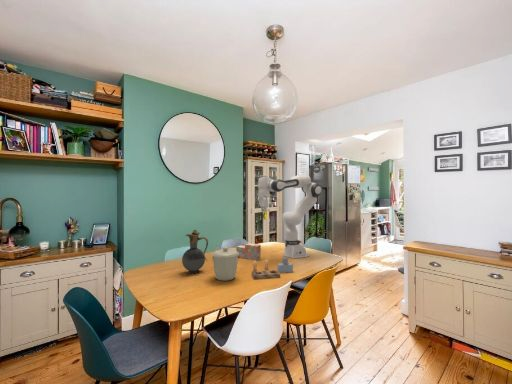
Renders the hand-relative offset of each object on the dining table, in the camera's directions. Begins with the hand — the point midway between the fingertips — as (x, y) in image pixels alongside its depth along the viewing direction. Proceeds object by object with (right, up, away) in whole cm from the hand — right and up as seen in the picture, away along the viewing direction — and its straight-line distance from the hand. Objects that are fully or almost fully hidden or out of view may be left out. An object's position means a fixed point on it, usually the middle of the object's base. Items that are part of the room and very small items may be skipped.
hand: (263, 212), depth 203 cm
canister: (-27, -41, -41) cm, 64 cm away
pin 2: (+1, -41, -23) cm, 47 cm away
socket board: (0, -41, -37) cm, 55 cm away
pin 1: (-7, -41, -26) cm, 49 cm away
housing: (+14, -41, -28) cm, 51 cm away
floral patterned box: (-13, -41, +8) cm, 44 cm away
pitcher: (-50, -41, -28) cm, 70 cm away
